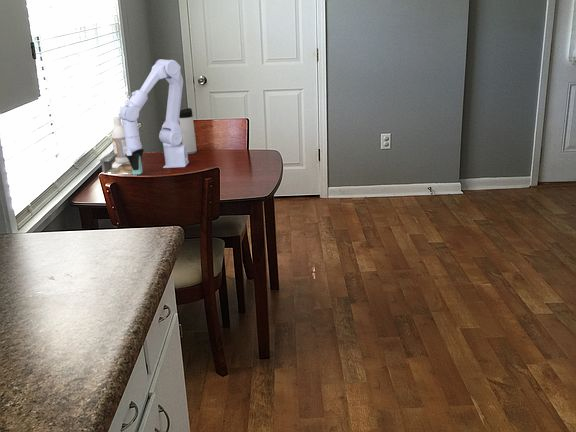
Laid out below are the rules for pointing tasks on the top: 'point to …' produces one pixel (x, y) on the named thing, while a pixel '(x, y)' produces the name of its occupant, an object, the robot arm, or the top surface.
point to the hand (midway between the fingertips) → (137, 168)
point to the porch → (118, 170)
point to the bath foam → (119, 141)
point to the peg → (139, 168)
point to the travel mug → (188, 130)
